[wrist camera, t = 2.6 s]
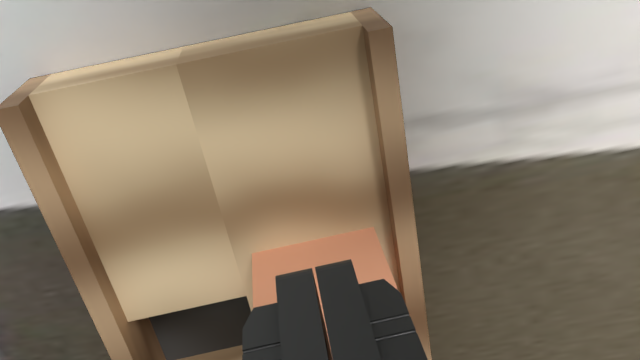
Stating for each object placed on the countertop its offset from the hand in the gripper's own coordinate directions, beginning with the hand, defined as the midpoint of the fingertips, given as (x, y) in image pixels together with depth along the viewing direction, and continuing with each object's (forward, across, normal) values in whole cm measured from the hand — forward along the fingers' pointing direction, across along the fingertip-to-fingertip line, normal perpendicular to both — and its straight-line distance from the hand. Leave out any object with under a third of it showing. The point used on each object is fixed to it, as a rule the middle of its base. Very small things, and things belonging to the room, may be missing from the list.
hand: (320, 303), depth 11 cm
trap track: (+13, +2, +10) cm, 16 cm away
